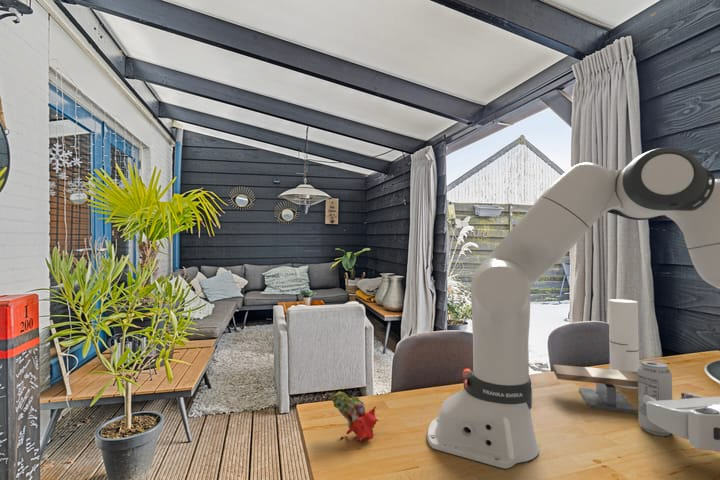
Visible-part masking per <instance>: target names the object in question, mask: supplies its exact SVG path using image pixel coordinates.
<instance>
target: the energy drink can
mask: <svg viewBox="0 0 720 480" xmlns="http://www.w3.org/2000/svg"><path fill="white" fill-rule="evenodd" d="M637 394H638V395H637V396H638V397H637V403H638V405H637V407H638V409H637V410H638V411H637V412H638V423H639V425H640V426H641V429H642V430H643V431H645V432H647V433H649V434H652V435H656V436H662V437H667V436H670V434H671V433H670V432H668V431H666V430H664V429H662V428H660V427H659V426H657V425H655V424H653V423H652V422H650V421H649V420H648V418H647V414H646V404H645V403H644V402H643V396H644V395H652V396H654V397H656V401H658V400H673V375H672V372H671V370H670V369H669V365H668V364H667V363H665V362H662V361H657V360H650V359H642V360H640V363H639V367H638V388H637Z"/></svg>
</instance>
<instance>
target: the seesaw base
mask: <svg viewBox="0 0 720 480" xmlns="http://www.w3.org/2000/svg"><path fill="white" fill-rule="evenodd" d="M616 387H617V386H615V385H611V384H601V383H595V388H589V387H588V388H587V387H578V388H579V389H578V392H579V393H580V395H581V396H582V397H583V399H584V401H585V403H586V404H587V406H588V407H589V409H590V410H591V409H592V410H599V411H608V412H616V413H624V414H631V415H632V414H633V415H638V411H637V410H638V409H636V408H635V406H634V405H633V404H632V403H631V402H630V401H629V400H628V399H627V397H626V396H625V395H623V393H622V392H621V391H617V388H616Z"/></svg>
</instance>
